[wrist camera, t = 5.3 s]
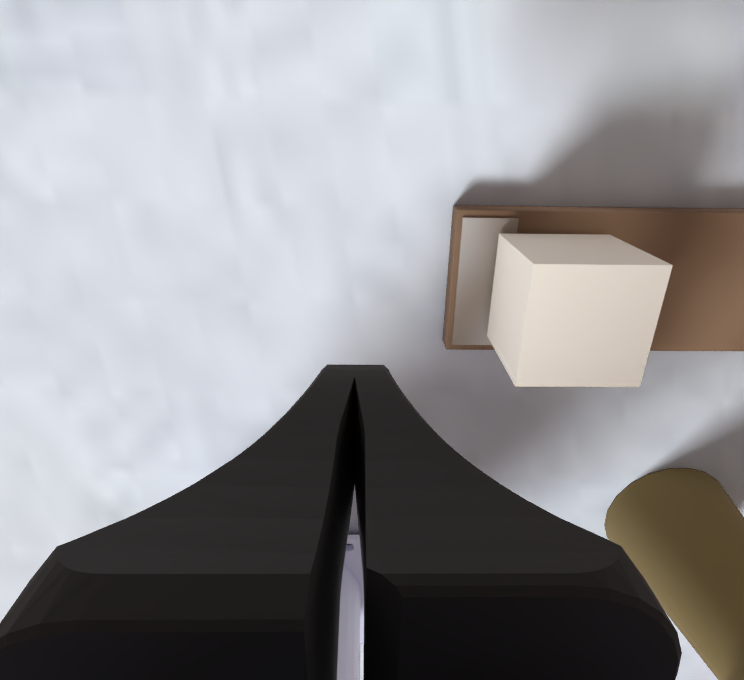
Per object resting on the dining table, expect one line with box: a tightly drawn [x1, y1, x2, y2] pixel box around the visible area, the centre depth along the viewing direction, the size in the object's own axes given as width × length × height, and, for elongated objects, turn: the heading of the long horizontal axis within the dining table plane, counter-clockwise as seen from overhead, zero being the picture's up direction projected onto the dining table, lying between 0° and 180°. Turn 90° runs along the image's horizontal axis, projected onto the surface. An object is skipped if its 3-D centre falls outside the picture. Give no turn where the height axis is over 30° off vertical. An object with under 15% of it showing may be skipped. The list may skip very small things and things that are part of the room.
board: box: [443, 206, 744, 351], centre depth 19 cm, size 15×6×1 cm, turn 89°
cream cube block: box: [487, 233, 673, 387], centre depth 17 cm, size 4×4×4 cm
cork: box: [605, 468, 744, 680], centre depth 20 cm, size 6×6×11 cm
